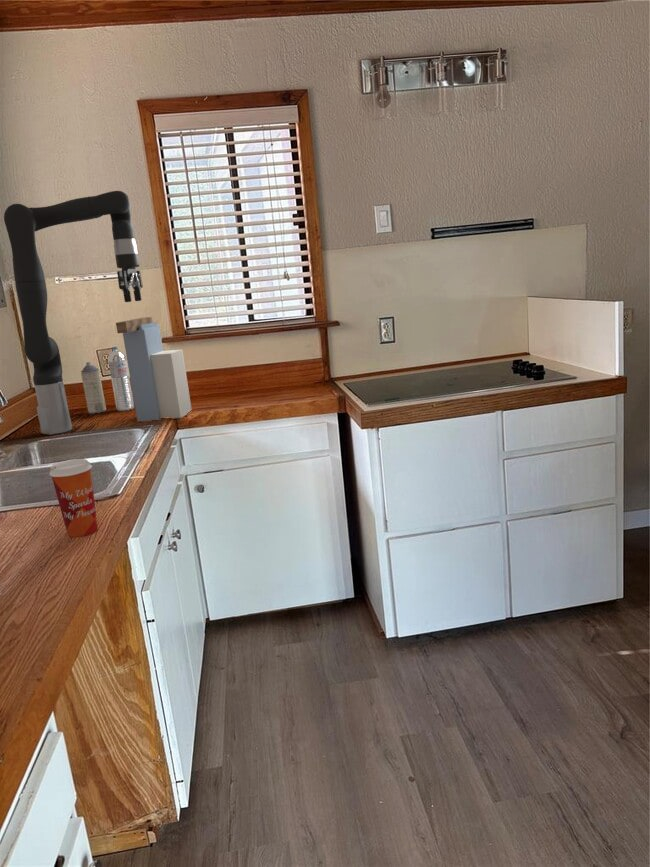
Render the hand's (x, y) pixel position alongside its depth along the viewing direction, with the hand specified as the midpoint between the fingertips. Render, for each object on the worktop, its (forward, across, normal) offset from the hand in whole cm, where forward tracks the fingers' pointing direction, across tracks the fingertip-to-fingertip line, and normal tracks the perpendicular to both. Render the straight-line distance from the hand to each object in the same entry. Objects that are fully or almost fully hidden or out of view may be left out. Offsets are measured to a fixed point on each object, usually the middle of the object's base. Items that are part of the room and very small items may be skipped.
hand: (133, 301), depth 222 cm
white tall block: (+41, +1, -10) cm, 43 cm away
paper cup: (+42, -107, -30) cm, 119 cm away
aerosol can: (+42, +18, +30) cm, 55 cm away
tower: (+42, 0, -2) cm, 42 cm away
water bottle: (+42, +19, +18) cm, 50 cm away
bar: (+10, -4, -1) cm, 10 cm away
